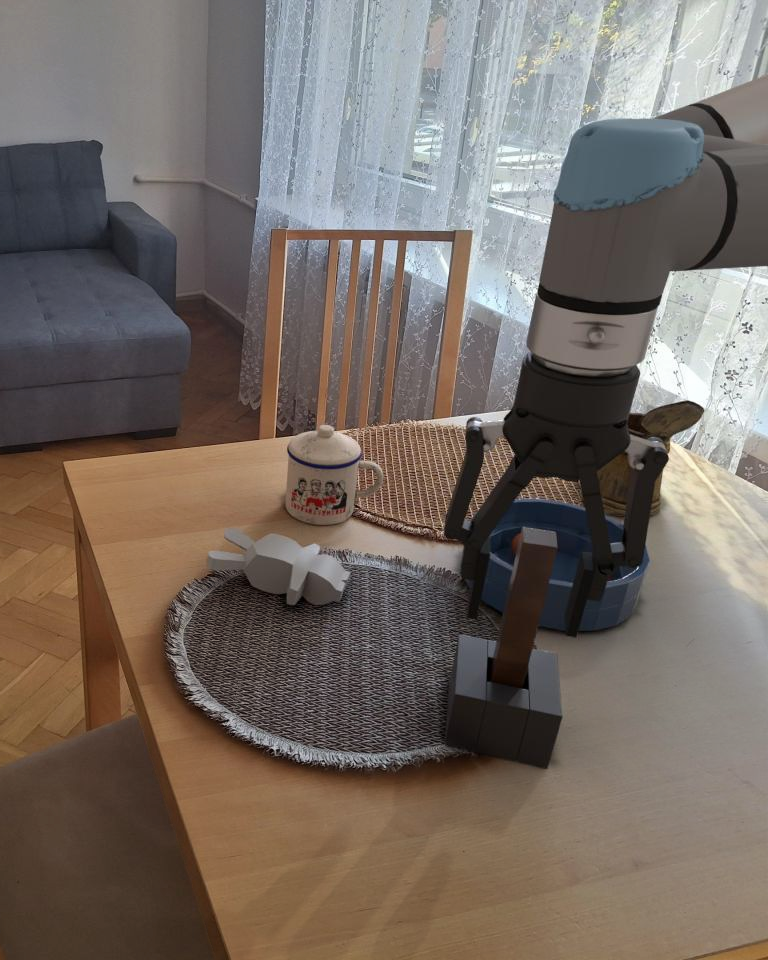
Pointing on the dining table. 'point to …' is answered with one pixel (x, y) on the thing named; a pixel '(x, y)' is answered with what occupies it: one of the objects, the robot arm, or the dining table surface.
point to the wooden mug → (646, 426)
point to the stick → (523, 606)
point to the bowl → (561, 564)
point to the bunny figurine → (283, 567)
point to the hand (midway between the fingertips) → (520, 617)
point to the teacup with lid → (325, 476)
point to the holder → (503, 706)
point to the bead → (515, 543)
